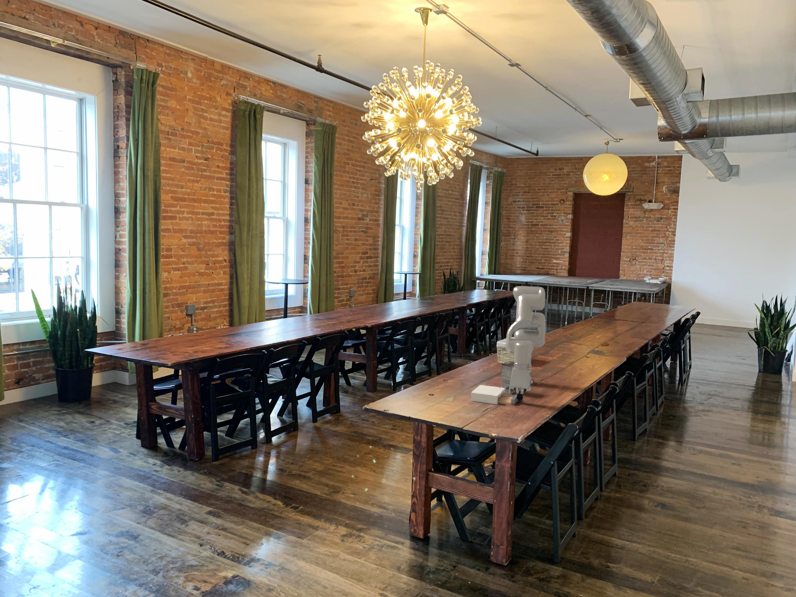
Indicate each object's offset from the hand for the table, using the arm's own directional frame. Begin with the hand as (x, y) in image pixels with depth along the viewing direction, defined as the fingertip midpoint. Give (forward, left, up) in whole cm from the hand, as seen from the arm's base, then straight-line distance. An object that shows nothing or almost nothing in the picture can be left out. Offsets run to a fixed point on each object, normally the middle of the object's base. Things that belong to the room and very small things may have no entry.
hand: (519, 400), depth 302 cm
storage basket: (-97, -26, -2) cm, 100 cm away
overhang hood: (0, -17, -1) cm, 17 cm away
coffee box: (-19, -10, -1) cm, 22 cm away
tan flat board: (0, -10, -1) cm, 10 cm away
